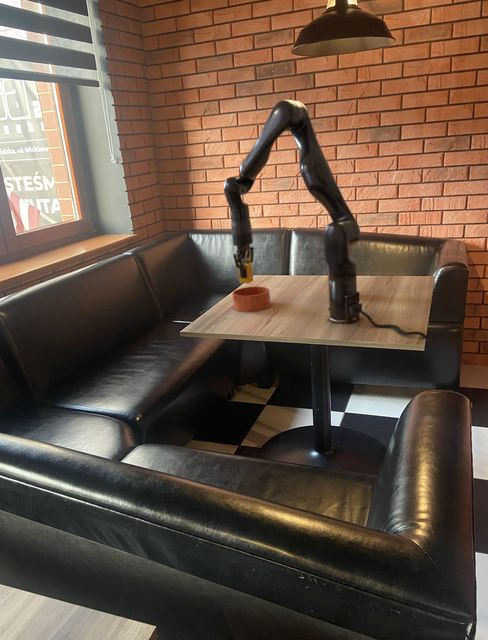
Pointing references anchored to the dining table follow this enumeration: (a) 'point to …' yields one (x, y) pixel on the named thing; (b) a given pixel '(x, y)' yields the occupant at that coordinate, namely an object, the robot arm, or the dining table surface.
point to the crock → (251, 298)
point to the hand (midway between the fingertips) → (246, 276)
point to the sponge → (247, 274)
